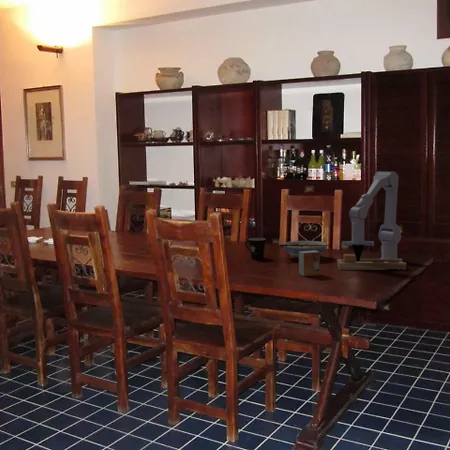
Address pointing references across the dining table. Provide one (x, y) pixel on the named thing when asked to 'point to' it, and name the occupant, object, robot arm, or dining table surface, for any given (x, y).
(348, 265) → the trap lane
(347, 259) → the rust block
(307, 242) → the ramen bowl
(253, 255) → the coffee mug
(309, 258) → the small box
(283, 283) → the dining table surface
